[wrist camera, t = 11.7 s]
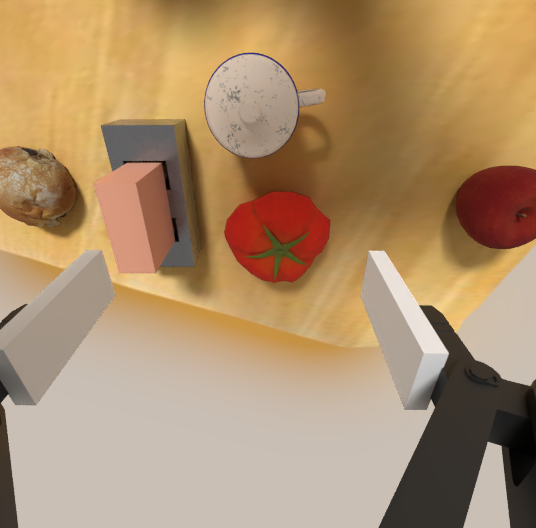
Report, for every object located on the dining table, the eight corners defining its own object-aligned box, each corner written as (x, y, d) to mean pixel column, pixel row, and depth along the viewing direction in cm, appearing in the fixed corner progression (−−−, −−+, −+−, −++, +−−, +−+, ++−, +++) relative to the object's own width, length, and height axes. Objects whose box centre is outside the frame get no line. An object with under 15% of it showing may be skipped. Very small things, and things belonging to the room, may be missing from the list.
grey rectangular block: (119, 119, 39) (100, 125, 35) (184, 119, 39) (173, 124, 34) (148, 249, 48) (136, 266, 44) (201, 249, 48) (194, 266, 44)
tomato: (238, 268, 50) (232, 302, 42) (222, 189, 43) (211, 214, 36) (327, 258, 48) (337, 292, 41) (324, 177, 42) (335, 199, 35)
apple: (532, 176, 42) (600, 203, 33) (477, 235, 46) (524, 272, 37) (478, 142, 40) (535, 160, 31) (426, 207, 44) (463, 239, 35)
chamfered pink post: (136, 157, 39) (93, 182, 30) (169, 156, 39) (135, 182, 30) (152, 230, 44) (119, 273, 35) (181, 230, 44) (155, 273, 35)
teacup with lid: (226, 148, 40) (211, 172, 30) (209, 64, 36) (184, 60, 26) (321, 133, 39) (337, 153, 29) (316, 45, 35) (333, 34, 25)
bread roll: (91, 163, 45) (59, 149, 37) (79, 234, 46) (46, 235, 38) (18, 146, 44) (-31, 128, 36) (7, 219, 45) (-42, 216, 37)
